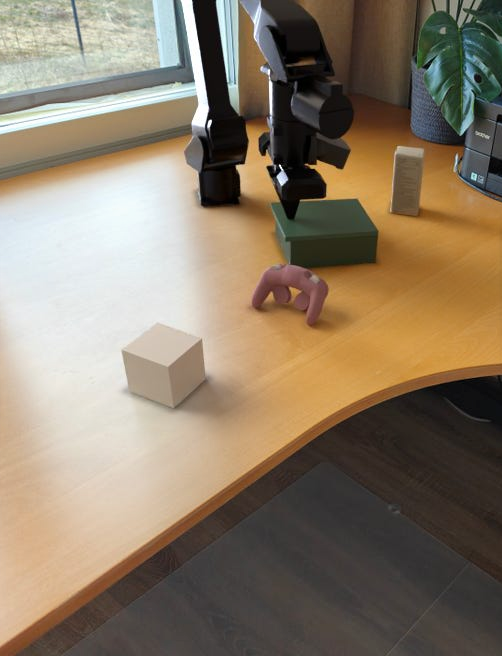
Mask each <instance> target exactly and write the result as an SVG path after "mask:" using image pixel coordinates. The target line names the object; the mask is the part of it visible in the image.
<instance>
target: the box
mask: <svg viewBox="0 0 502 656" xmlns="http://www.w3.org/2000/svg"><path fill="white" fill-rule="evenodd" d="M425 153H426V149H425V148H421V147H412V146H411V147H410V146H404V145H397V147H396V149H395V152H394V158H393V159H394V160H393V172H392V186H391V197H390V210H389V211H390V213H391V214H397V215H398V214H399V215H406V216H414V217H418V214H419V210H420V205H421V204H420V203H421V194H422V185H423V174H424V164H425Z"/></svg>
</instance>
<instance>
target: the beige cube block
mask: <svg viewBox="0 0 502 656" xmlns="http://www.w3.org/2000/svg"><path fill="white" fill-rule="evenodd" d="M120 351H121V356H122V360H123V361H122V362H123V366H124V371H125V378H126V381H127V387H128V391H129V392H130V393H132V394H135V395H137V396H139V397H143V398H146V399H148V400H150V401H154V402H156V403H157V404H161V405H163V406H166V407H169V408H172V409H175V408H176V407H177V406H178V405H179V404H181V402H182V401H184V400H185V399H186V398H187V397H188V396H189V395H190V394H191V393H192V392H193V391H195V389H197V388H198V387H199V386H200V385H201V384H202V383H203V382H204V381H205V380H206V378H207V377H206V365H205V357H204V356H205V355H204V345H203V337H200V336H197V335H194V334H191V333H188V332H186V331H183V330H180V329H177V328H176V327H175V328H174V327H171V326H169V325H167V324H163V323H160V322H156V323H154V325H152V326H151V327H149V328H148V329H146V330H145V331H144V332H143V333H142V334H140V335H139V336H137V337H136V338H135V339H134V340H132V341H130V342H129V343H128V344H126V345H125V346H124V347H123V348H121V350H120Z"/></svg>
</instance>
